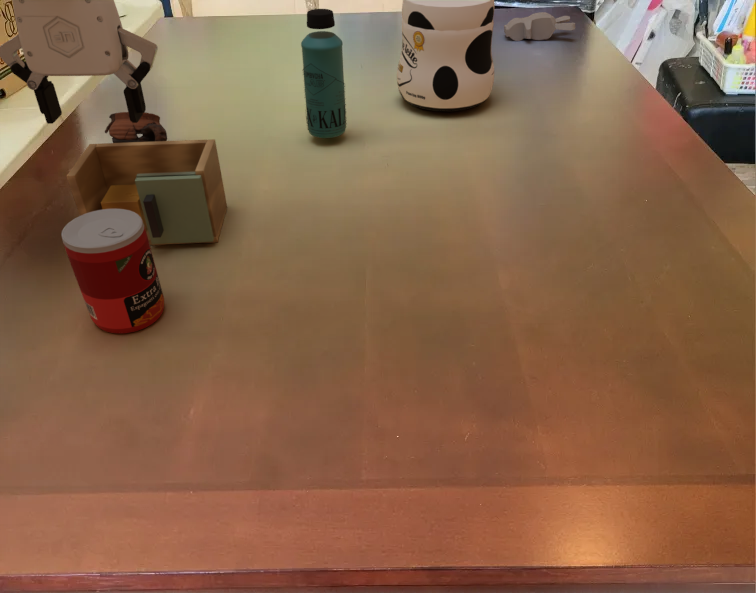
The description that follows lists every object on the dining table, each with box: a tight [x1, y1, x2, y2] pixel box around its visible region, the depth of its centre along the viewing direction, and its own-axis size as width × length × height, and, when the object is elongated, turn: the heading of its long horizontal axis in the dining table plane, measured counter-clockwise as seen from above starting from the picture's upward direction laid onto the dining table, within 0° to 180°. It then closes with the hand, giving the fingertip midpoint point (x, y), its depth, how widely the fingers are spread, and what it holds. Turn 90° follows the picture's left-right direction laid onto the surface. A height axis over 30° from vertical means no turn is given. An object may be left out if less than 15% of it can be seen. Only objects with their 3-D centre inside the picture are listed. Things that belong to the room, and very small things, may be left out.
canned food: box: [60, 209, 165, 334], centre depth 69 cm, size 8×8×11 cm
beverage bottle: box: [300, 8, 348, 139], centre depth 102 cm, size 6×7×20 cm
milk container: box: [396, 0, 495, 112], centre depth 115 cm, size 17×17×18 cm
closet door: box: [135, 175, 214, 245], centre depth 79 cm, size 8×2×9 cm, turn 93°
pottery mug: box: [104, 111, 168, 143], centre depth 102 cm, size 12×10×8 cm
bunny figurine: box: [503, 11, 576, 42], centre depth 149 cm, size 10×5×15 cm
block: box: [101, 185, 148, 232], centre depth 84 cm, size 5×5×5 cm
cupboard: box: [66, 139, 228, 246], centre depth 83 cm, size 16×9×10 cm, turn 93°
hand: (96, 118), depth 78 cm, fingers open, 9 cm apart
